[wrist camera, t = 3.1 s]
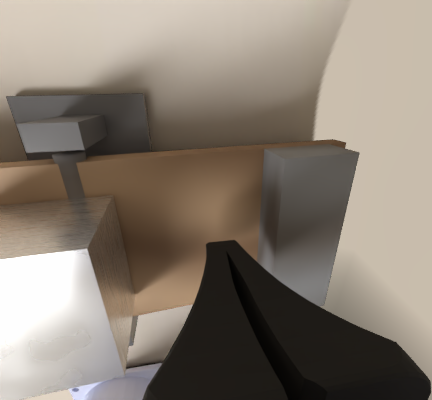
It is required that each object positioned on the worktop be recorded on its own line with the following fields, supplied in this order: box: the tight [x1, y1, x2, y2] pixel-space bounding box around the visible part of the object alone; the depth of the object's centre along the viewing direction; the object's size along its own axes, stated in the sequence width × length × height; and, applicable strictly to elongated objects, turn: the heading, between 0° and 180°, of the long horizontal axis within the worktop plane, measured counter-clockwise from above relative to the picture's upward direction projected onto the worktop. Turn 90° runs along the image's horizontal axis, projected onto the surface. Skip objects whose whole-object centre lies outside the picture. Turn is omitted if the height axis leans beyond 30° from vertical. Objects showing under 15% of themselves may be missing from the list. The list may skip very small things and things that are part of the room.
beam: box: [0, 139, 359, 316], centre depth 11 cm, size 10×26×3 cm, turn 91°
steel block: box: [0, 195, 135, 400], centre depth 9 cm, size 6×5×4 cm
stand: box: [6, 94, 152, 346], centre depth 13 cm, size 14×6×4 cm, turn 1°
